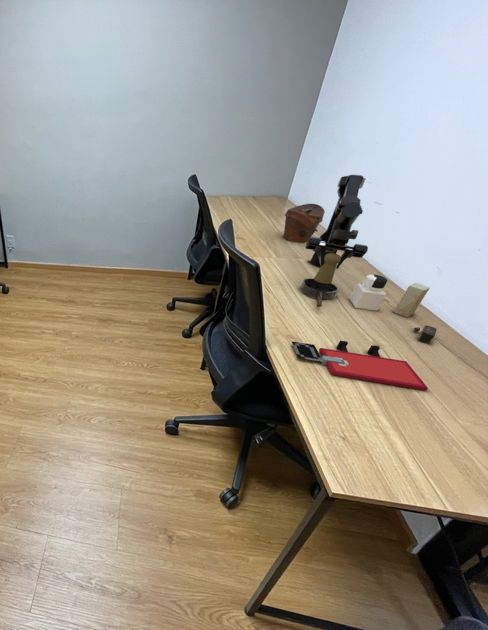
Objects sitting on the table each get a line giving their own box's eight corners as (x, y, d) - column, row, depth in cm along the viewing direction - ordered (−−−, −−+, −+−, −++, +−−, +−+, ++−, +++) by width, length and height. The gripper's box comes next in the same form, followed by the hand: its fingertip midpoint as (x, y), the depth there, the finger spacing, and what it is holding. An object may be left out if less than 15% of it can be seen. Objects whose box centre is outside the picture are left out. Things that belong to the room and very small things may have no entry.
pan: (300, 283, 145) (303, 276, 143) (334, 290, 139) (338, 282, 137) (299, 295, 136) (302, 287, 134) (335, 303, 131) (339, 295, 129)
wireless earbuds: (431, 335, 113) (437, 327, 111) (429, 344, 108) (434, 336, 107) (413, 329, 115) (418, 321, 114) (410, 338, 111) (415, 330, 110)
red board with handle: (288, 340, 110) (301, 370, 98) (291, 333, 109) (305, 363, 97) (397, 356, 104) (425, 391, 92) (402, 349, 102) (431, 384, 90)
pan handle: (316, 294, 133) (318, 290, 132) (321, 295, 132) (322, 291, 131) (315, 307, 124) (317, 303, 124) (320, 308, 124) (322, 304, 123)
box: (406, 317, 122) (423, 290, 116) (392, 312, 125) (408, 285, 119) (413, 313, 124) (430, 287, 118) (399, 308, 127) (415, 282, 121)
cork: (334, 284, 132) (346, 258, 126) (317, 283, 133) (328, 257, 127) (327, 277, 137) (339, 251, 131) (311, 276, 138) (322, 250, 132)
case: (279, 242, 186) (291, 209, 176) (276, 231, 202) (286, 200, 192) (317, 246, 180) (331, 213, 171) (310, 234, 196) (322, 203, 186)
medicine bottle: (370, 301, 131) (385, 273, 125) (377, 311, 126) (394, 282, 119) (348, 299, 133) (362, 271, 127) (354, 308, 128) (370, 279, 121)
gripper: (317, 216, 129) (305, 253, 128) (379, 224, 121) (367, 264, 119) (310, 230, 139) (299, 264, 137) (367, 238, 131) (355, 275, 129)
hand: (329, 267), depth 130 cm, fingers closed on cork, 5 cm apart
